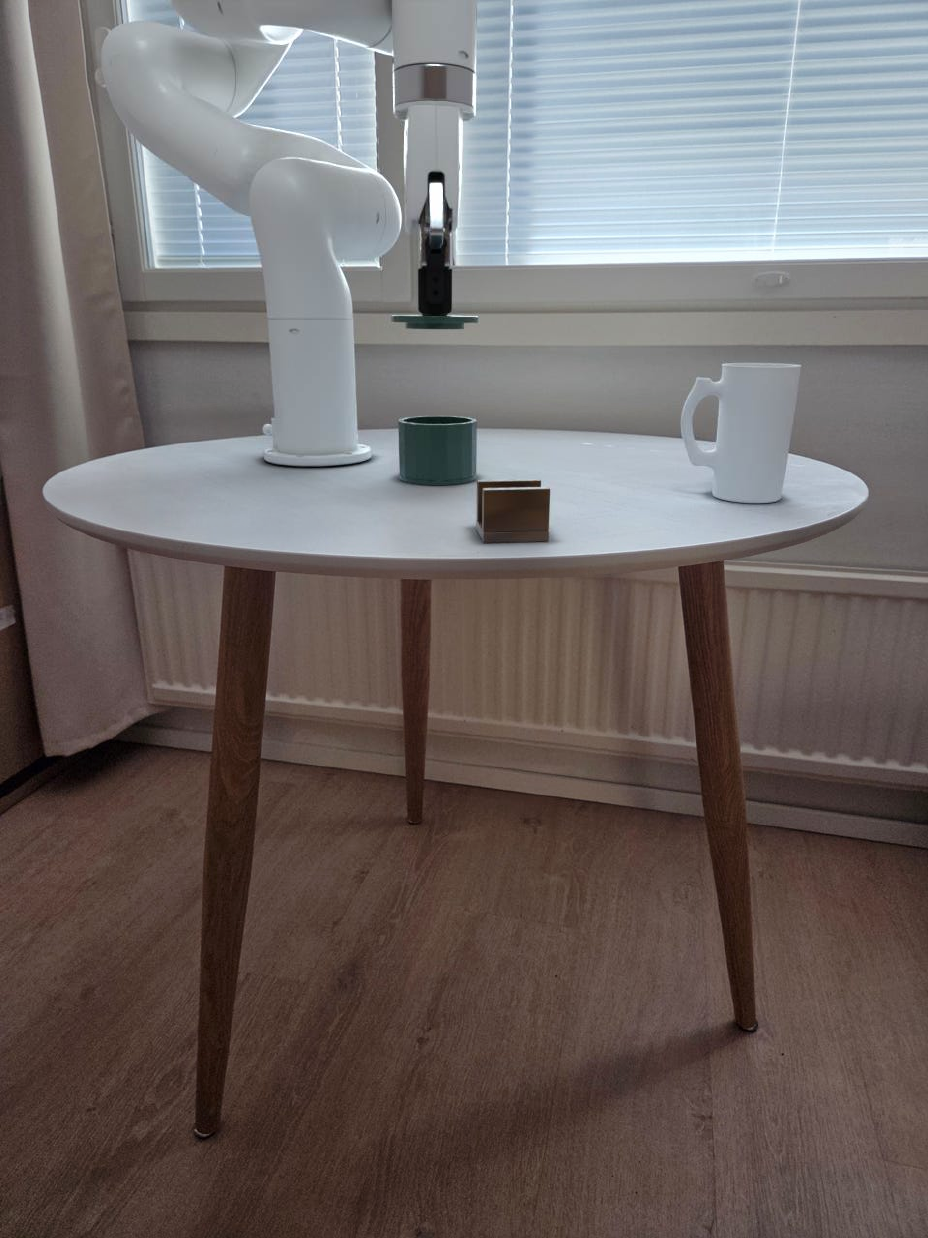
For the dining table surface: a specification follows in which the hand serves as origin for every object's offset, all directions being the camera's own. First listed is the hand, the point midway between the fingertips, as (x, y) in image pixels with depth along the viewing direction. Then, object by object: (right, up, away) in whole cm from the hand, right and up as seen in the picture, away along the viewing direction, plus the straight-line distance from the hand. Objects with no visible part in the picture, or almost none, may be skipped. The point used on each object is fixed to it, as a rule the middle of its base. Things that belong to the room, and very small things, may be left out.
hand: (434, 311), depth 83 cm
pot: (0, -16, +6) cm, 16 cm away
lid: (0, -1, 0) cm, 1 cm away
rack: (+7, -24, -17) cm, 30 cm away
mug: (+28, -19, -3) cm, 34 cm away
